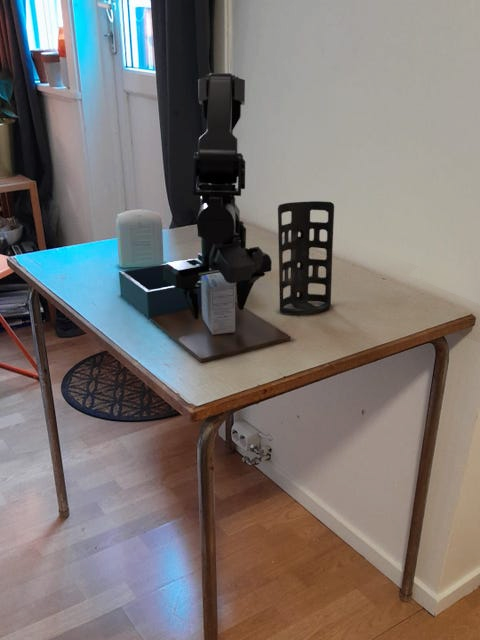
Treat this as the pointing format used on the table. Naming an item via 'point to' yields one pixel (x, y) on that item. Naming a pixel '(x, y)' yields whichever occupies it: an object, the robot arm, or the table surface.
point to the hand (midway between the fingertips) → (218, 314)
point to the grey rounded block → (139, 238)
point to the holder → (304, 256)
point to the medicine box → (218, 303)
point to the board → (209, 347)
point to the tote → (154, 291)
